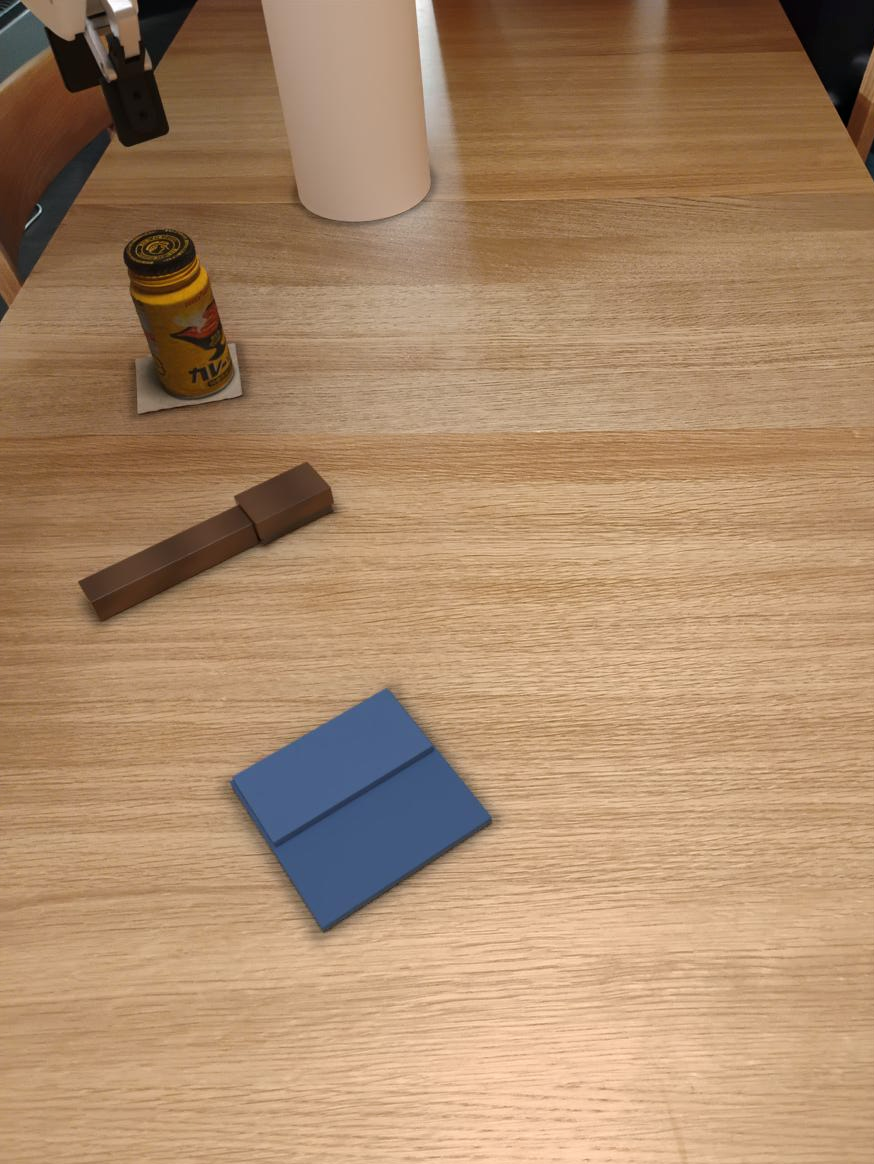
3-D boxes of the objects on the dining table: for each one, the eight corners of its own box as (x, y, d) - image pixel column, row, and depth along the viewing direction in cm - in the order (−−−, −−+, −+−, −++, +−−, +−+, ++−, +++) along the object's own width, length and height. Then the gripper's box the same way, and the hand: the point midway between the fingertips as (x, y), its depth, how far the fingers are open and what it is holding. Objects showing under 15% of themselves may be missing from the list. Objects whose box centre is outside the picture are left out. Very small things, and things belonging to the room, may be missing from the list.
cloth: (323, 932, 53) (319, 923, 52) (231, 786, 59) (226, 776, 58) (492, 822, 57) (491, 811, 56) (390, 694, 62) (387, 683, 61)
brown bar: (103, 627, 67) (91, 604, 65) (84, 595, 69) (72, 572, 67) (336, 511, 73) (331, 487, 71) (312, 485, 75) (307, 460, 73)
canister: (438, 155, 106) (421, -67, 90) (421, 222, 97) (399, -10, 82) (313, 154, 107) (275, -65, 91) (285, 220, 99) (238, -8, 83)
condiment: (243, 396, 82) (205, 262, 72) (138, 415, 81) (86, 281, 71) (235, 345, 86) (199, 212, 77) (136, 362, 85) (87, 230, 76)
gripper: (-107, -241, 56) (19, 83, 69) (-13, -178, 46) (111, 182, 60) (24, -265, 58) (121, 53, 71) (138, -210, 49) (225, 143, 62)
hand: (116, 111), depth 66 cm, fingers open, 9 cm apart
